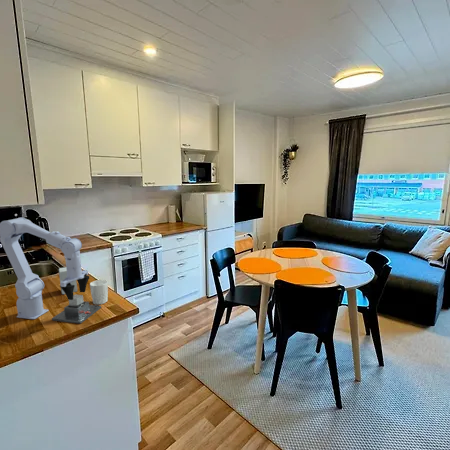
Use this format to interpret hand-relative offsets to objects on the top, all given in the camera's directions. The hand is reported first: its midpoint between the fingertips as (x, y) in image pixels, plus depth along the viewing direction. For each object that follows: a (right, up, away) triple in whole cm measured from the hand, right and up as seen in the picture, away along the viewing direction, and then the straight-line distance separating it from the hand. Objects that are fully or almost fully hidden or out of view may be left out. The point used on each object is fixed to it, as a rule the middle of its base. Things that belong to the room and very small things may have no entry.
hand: (76, 295), depth 121 cm
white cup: (+4, -7, +14) cm, 17 cm away
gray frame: (-1, -9, +3) cm, 9 cm away
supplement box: (-19, -5, +27) cm, 33 cm away
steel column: (-1, -8, +2) cm, 8 cm away
